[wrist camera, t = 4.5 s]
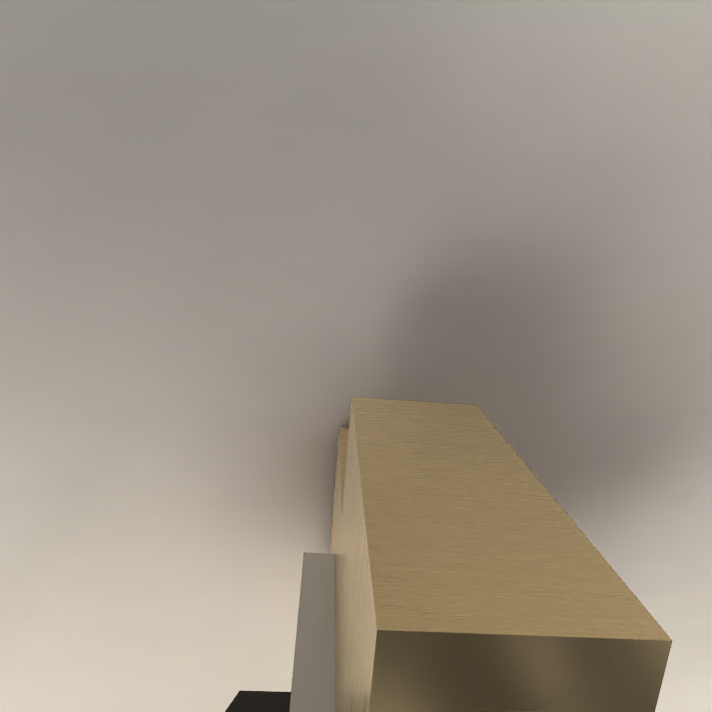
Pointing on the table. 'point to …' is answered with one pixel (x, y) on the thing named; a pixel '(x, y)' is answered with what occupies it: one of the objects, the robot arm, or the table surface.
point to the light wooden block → (472, 578)
